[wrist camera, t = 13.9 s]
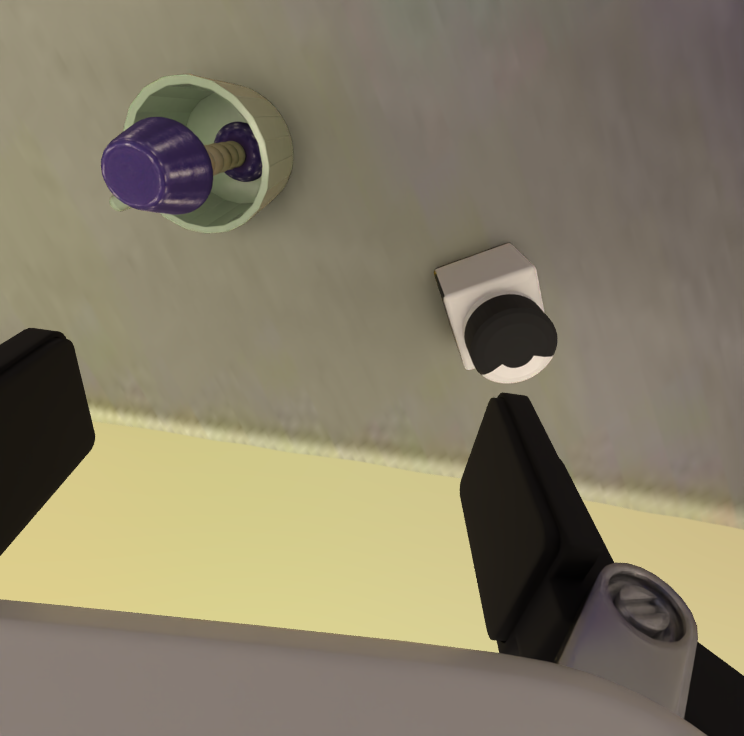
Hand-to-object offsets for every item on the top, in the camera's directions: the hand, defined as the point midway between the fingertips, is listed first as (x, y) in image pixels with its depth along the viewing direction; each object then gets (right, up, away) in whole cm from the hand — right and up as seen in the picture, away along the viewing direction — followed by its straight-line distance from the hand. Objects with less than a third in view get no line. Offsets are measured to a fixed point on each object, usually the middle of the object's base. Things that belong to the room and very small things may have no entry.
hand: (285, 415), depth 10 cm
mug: (-10, +18, +25) cm, 32 cm away
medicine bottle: (+12, +8, +30) cm, 34 cm away
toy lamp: (-8, +18, +24) cm, 31 cm away
